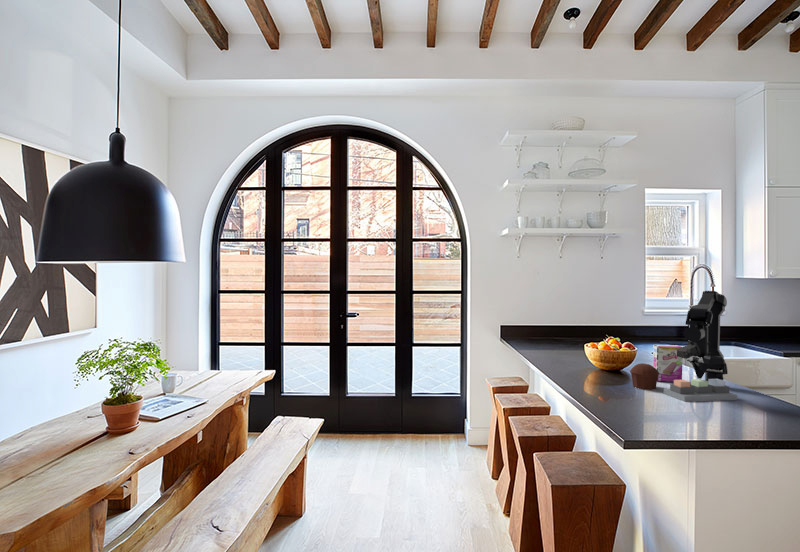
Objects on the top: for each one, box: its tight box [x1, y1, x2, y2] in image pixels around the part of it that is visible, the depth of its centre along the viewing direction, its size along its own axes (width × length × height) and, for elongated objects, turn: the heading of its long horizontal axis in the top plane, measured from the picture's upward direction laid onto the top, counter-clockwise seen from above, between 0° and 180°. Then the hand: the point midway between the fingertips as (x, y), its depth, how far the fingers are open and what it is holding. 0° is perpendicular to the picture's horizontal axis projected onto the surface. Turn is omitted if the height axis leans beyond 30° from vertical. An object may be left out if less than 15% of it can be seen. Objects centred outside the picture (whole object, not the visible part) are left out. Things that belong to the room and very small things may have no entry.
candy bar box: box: [652, 344, 683, 383], centre depth 213 cm, size 11×5×16 cm, turn 84°
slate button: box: [708, 379, 726, 386], centre depth 186 cm, size 4×4×3 cm
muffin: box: [629, 362, 659, 391], centre depth 201 cm, size 12×11×10 cm
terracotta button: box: [673, 379, 691, 387], centre depth 184 cm, size 4×4×3 cm
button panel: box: [663, 383, 738, 402], centre depth 185 cm, size 12×22×4 cm, turn 96°
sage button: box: [690, 378, 708, 387], centre depth 185 cm, size 4×4×3 cm
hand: (699, 378), depth 185 cm, fingers closed
